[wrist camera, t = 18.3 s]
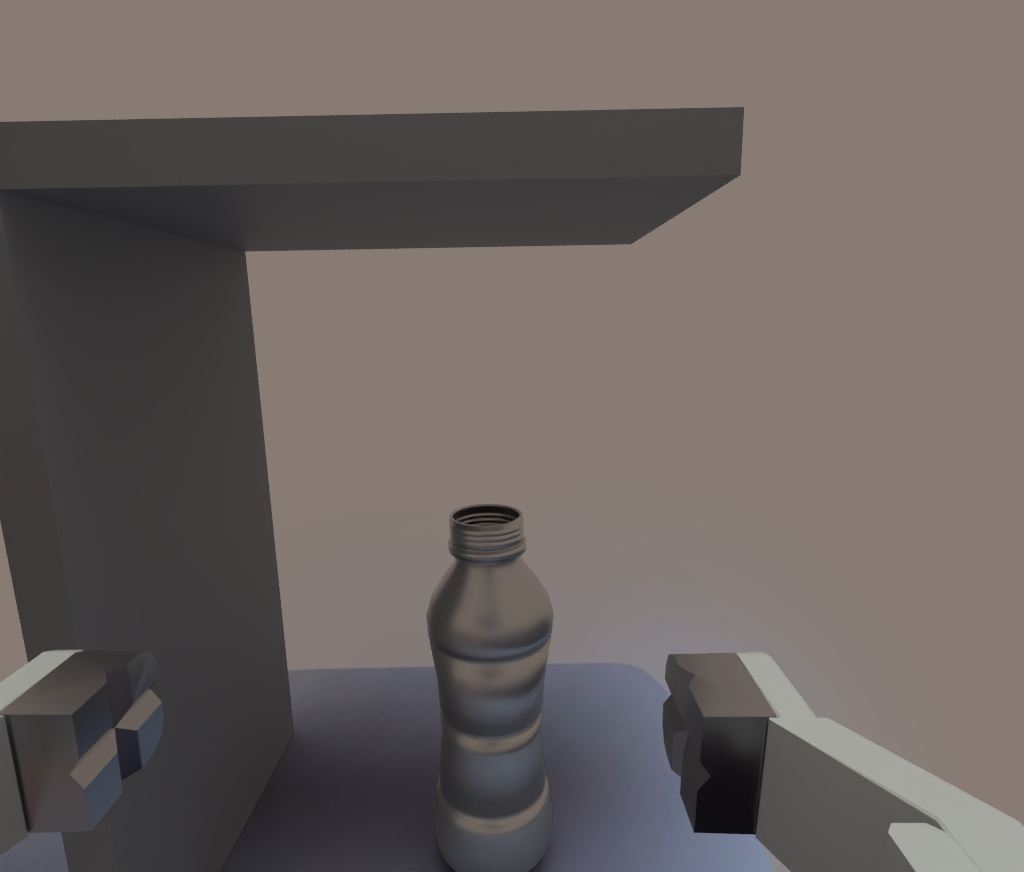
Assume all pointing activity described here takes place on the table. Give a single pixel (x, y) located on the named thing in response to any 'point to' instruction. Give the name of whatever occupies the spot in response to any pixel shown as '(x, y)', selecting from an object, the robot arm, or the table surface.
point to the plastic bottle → (490, 696)
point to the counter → (236, 383)
